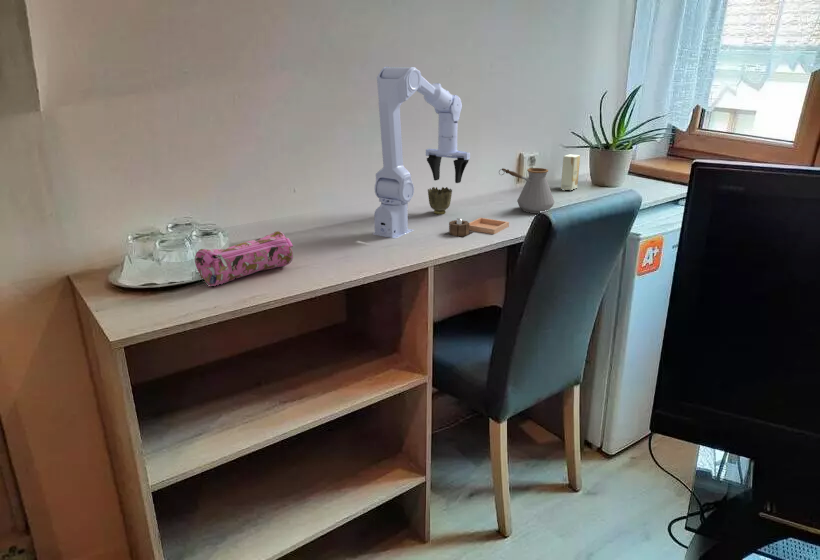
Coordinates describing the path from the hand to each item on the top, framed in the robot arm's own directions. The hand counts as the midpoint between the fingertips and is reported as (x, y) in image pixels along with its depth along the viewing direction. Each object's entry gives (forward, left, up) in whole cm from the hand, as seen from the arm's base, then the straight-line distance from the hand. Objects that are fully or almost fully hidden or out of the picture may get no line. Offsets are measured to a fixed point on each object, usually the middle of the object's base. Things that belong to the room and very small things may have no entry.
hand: (447, 181), depth 190 cm
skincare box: (+52, -20, -10) cm, 57 cm away
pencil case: (-73, +10, -10) cm, 74 cm away
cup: (-3, +1, -10) cm, 11 cm away
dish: (-10, -19, -10) cm, 24 cm away
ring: (-19, -15, -10) cm, 26 cm away
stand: (-19, -15, -10) cm, 26 cm away
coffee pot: (+13, -20, -10) cm, 26 cm away
